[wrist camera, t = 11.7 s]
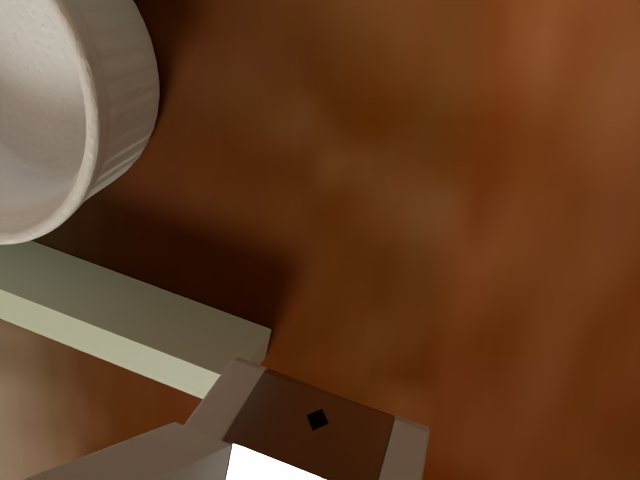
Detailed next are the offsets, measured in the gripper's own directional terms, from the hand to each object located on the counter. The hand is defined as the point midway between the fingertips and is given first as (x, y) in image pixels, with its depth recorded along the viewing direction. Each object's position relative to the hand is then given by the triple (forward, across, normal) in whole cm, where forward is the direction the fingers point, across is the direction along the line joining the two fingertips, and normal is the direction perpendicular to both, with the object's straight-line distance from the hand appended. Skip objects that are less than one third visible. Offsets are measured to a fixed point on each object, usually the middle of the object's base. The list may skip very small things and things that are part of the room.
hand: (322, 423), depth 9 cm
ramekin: (+10, +12, -1) cm, 16 cm away
